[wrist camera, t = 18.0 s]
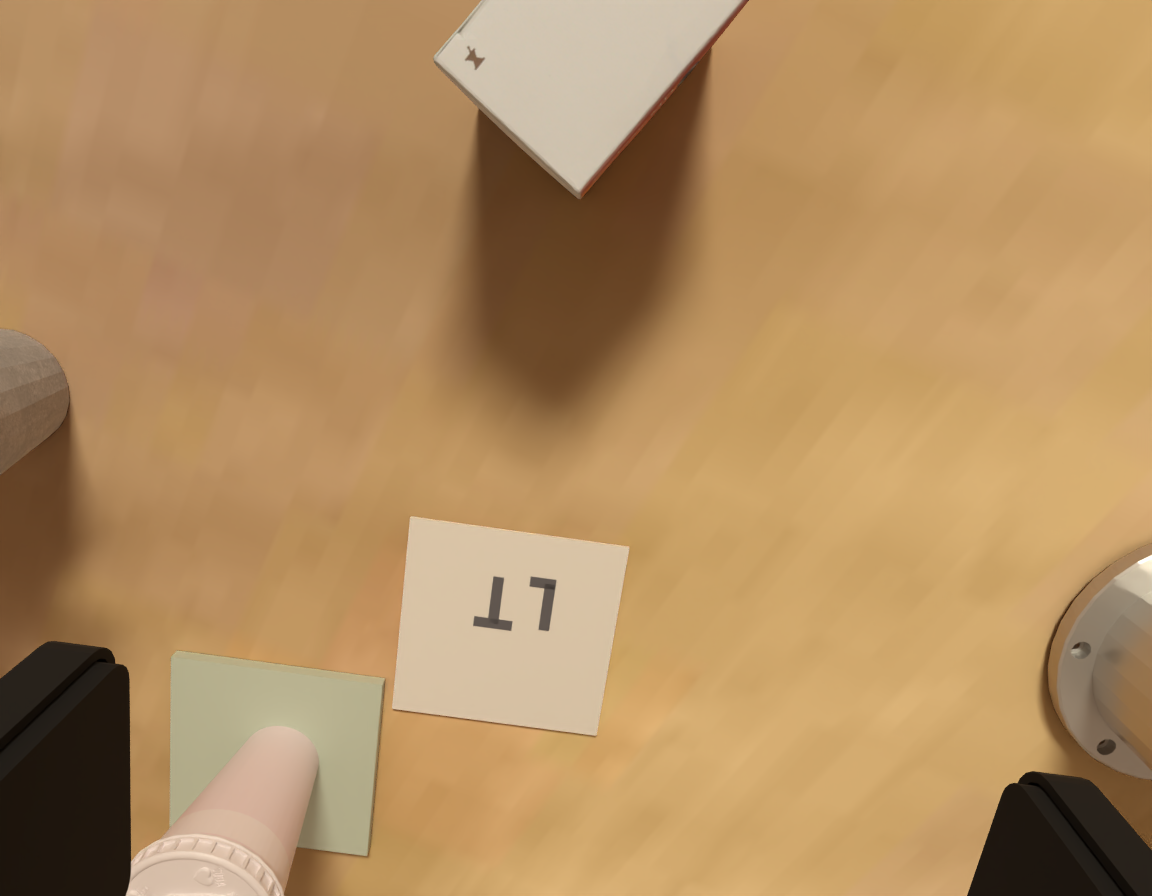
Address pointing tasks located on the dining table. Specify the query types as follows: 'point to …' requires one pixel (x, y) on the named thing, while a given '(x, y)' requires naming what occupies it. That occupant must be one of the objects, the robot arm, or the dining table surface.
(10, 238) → the dining table surface
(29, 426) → the house plant
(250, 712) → the sage pad
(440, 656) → the card
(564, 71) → the small box
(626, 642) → the dining table surface
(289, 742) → the smoothie
